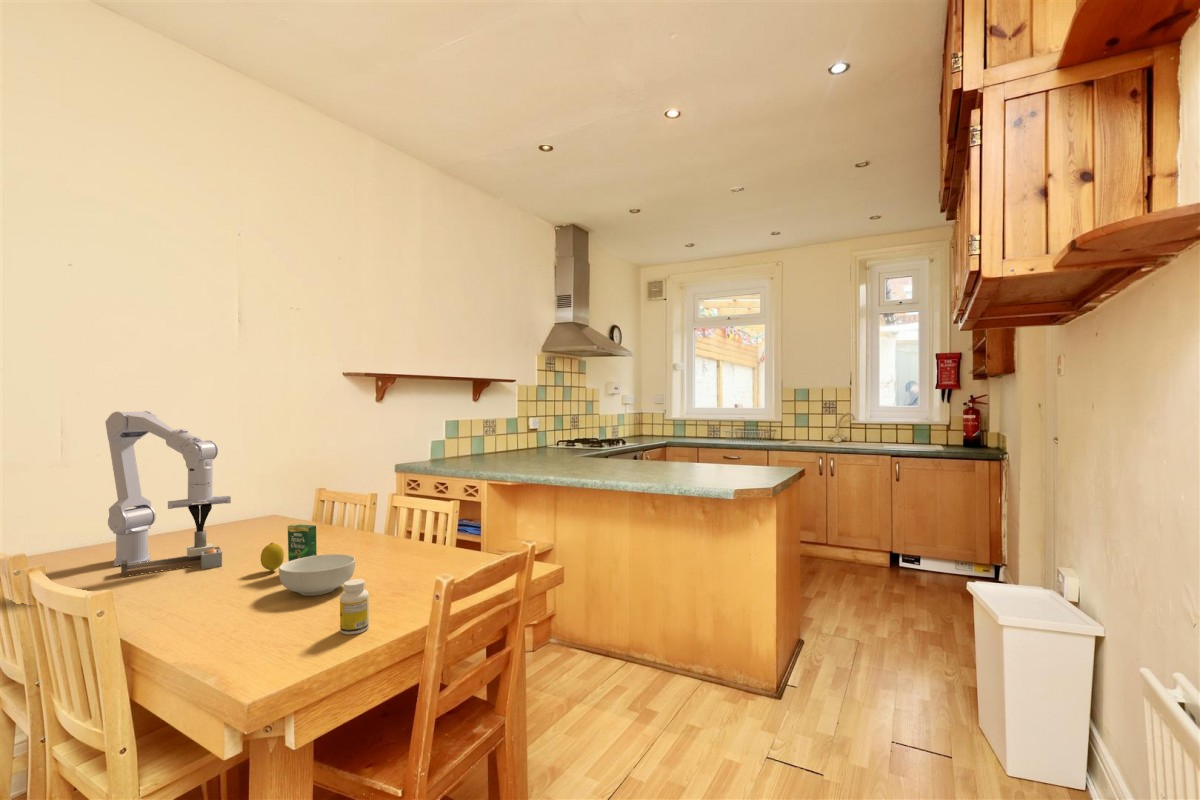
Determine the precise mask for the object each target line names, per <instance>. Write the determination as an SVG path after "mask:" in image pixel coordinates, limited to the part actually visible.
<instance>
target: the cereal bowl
mask: <svg viewBox="0 0 1200 800" xmlns="http://www.w3.org/2000/svg"><path fill="white" fill-rule="evenodd" d="M355 568H356V558H355V556H352V555H349V554H343V553H342V554H341V553H332V554H329V553H328V554H327V553H326V554H318V555H316V556H309V557H304V558H299V559H295V560H292V561H286V562H284V563H282V564H281V565H280V566H279V567H278V576H279V580H280V584H281V585H282V586H283V587H285V588H286V589H287V590H289V591H291V592H294V593H295V592H296V593H299V594H300V595H301V596H306V597H307V596H309V597H314V596H322V595H326V594H329V593H332V592H334V591H335V590H336V589H337V588H339V587H341V586H344V582H346V581H348V580H351V578H352V577H353V575H354V572H355Z"/></svg>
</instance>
